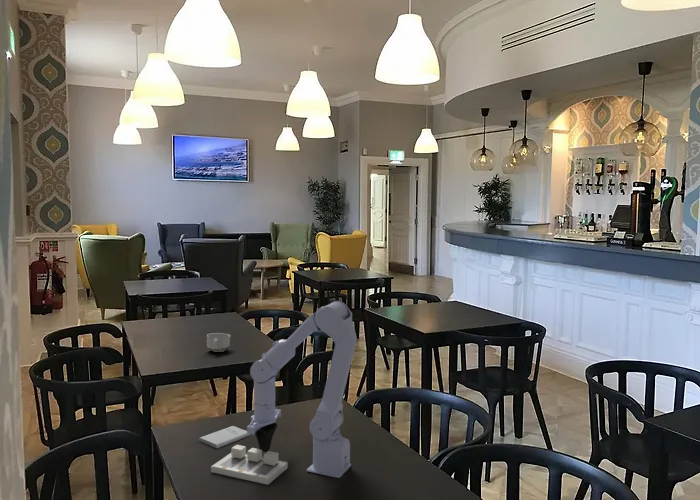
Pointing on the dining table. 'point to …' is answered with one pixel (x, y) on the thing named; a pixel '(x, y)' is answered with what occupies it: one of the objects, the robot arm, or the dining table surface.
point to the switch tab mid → (254, 454)
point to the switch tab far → (238, 451)
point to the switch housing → (249, 469)
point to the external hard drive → (224, 436)
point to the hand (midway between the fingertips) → (264, 450)
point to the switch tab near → (271, 458)
